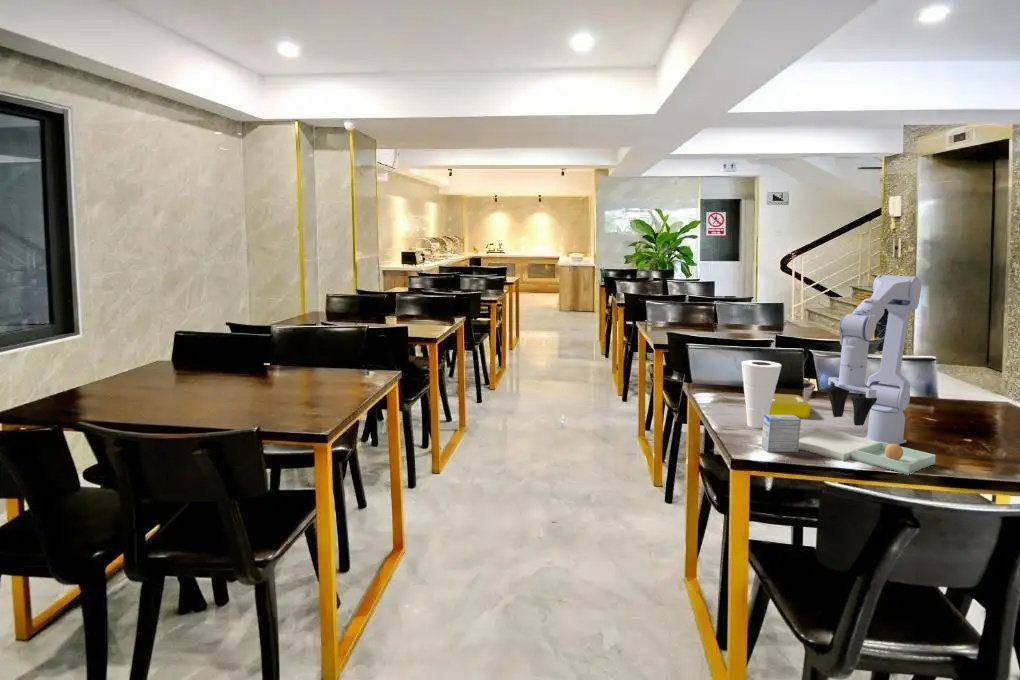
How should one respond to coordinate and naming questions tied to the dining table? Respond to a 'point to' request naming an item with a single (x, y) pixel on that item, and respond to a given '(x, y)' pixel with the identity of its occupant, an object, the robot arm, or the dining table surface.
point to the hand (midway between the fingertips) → (848, 420)
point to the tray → (830, 442)
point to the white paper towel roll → (759, 389)
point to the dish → (906, 464)
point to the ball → (894, 451)
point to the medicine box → (781, 433)
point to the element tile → (789, 406)
